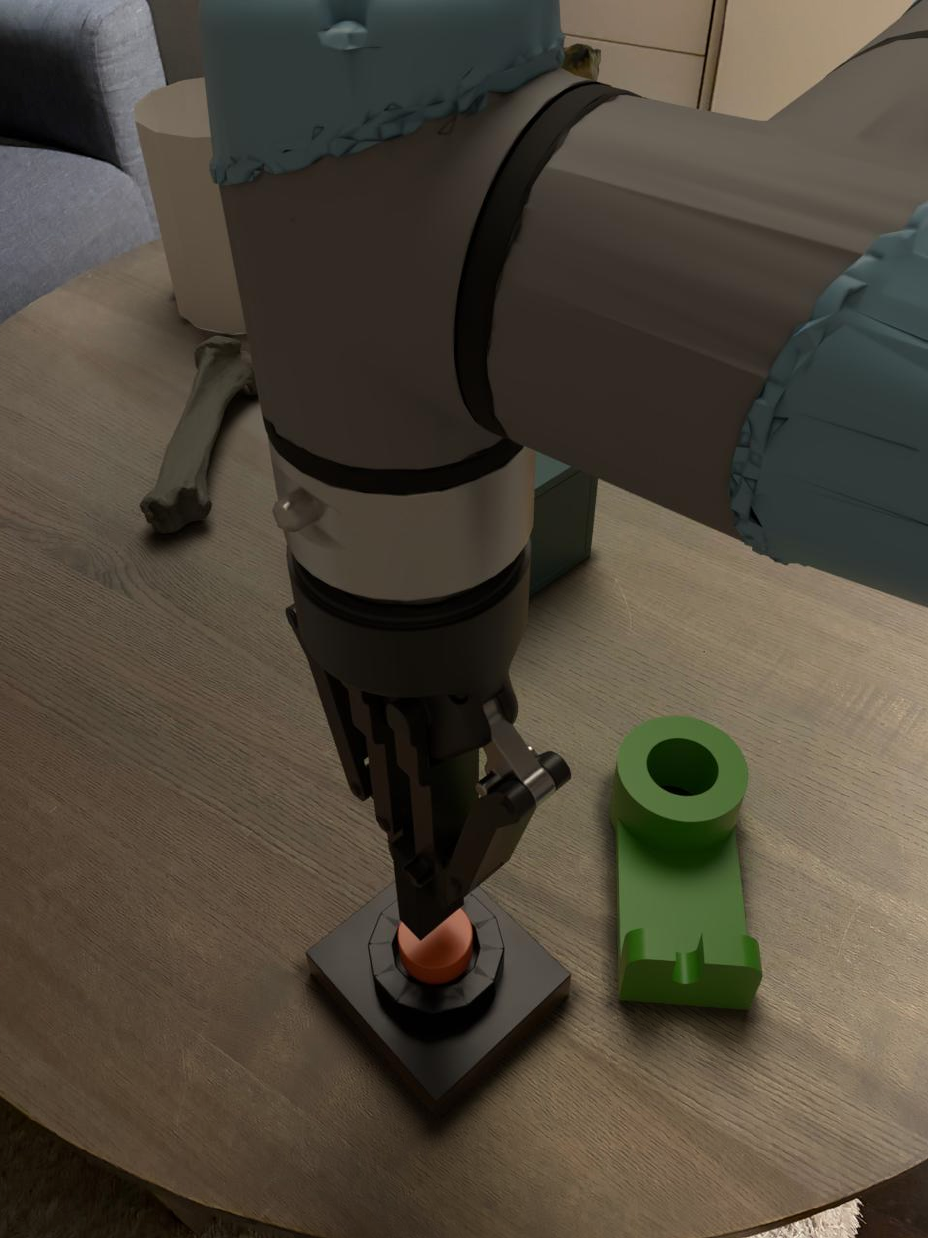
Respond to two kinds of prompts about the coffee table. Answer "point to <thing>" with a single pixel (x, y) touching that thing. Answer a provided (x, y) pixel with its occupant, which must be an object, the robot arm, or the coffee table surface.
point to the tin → (562, 528)
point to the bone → (197, 436)
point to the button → (438, 950)
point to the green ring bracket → (681, 868)
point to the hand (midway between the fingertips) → (431, 911)
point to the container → (189, 204)
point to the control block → (439, 995)
